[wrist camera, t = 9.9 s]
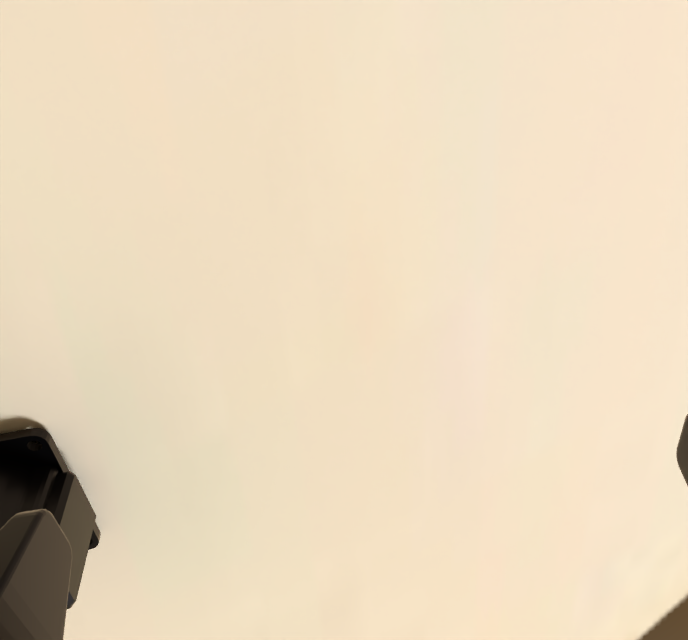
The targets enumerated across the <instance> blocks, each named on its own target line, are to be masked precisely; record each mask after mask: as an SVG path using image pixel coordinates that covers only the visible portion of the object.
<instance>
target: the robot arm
mask: <svg viewBox="0 0 688 640" xmlns="http://www.w3.org/2000/svg"><path fill="white" fill-rule="evenodd" d="M32 441H38V442H40V443H34V442H32ZM677 461H678V465H679V468H680V470H681V472H682V474H683V477H684V479H685V481H686V483H687V485H688V414H687V416H686V418H685V422H684V425H683V429H682V432H681V436H680V440H679V443H678V447H677ZM95 519H96V515H95V513H94V511H93V509H92V507H91V505H90V503H89V501H88V499H87V497H86V495H85V493H84V491H83V489H82V487H81V485H80V483H79V481H78V479H77V477H76V475H74V474H73V473H72V472H71V471H69V470H68V468H67V466H66V464H65V462H64V460H63V458H62V456H61V454H60V452H59V450H58V448H57V446H56V444H55V442H54V441H53V439H52V437H51V435H50V434H49V433H48V432H47V431H45V430H43V429H39V428H32V429H27V430H21V431H16V432H11V433H5V434H0V640H63V635H64V626H65V618H66V609H69V608H71V607H72V606H73V604H74V603H75V601H76V599H77V595H78V590H79V586H80V582H81V578H82V574H83V569H84V565H85V561H86V557H87V553H88V550H89V549H92V548H95V547H96V546H97V545H98V543H99V539H100V535H101V534H100V530H99V529H98V527H97V525H96V523H95Z"/></svg>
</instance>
